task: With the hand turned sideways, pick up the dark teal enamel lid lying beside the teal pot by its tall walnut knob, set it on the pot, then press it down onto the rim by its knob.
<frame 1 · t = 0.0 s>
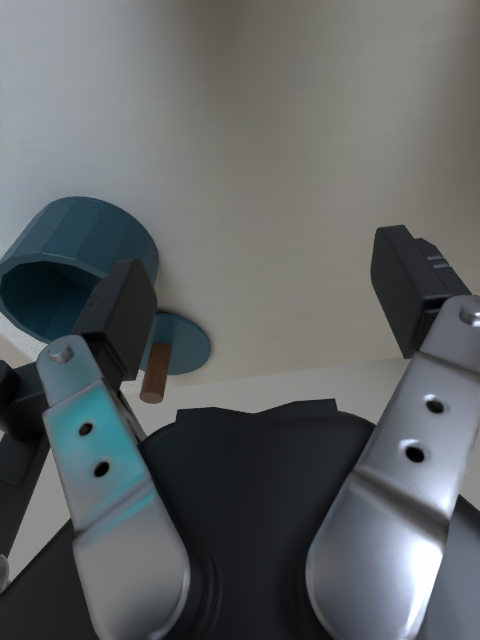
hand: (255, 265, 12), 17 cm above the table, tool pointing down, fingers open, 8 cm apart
pot: (98, 251, 32), on the table
lid: (162, 345, 42), point 1 cm above the table
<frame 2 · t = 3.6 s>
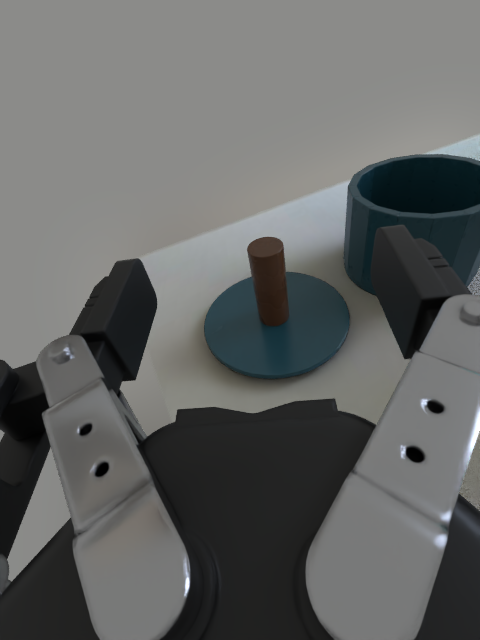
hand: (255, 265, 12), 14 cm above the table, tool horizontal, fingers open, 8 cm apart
pot: (405, 263, 32), on the table
lid: (274, 319, 29), point 1 cm above the table
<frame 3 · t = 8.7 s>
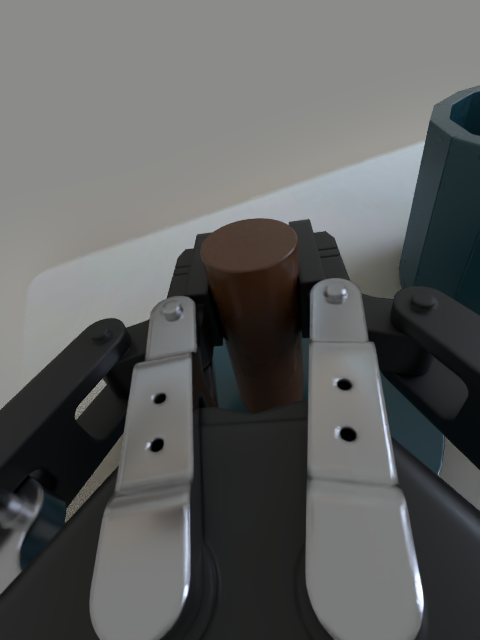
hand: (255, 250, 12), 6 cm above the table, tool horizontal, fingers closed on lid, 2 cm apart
lid: (272, 397, 14), point 1 cm above the table, touching gripper
when the fingers open (13 cm above the table, at t = 15.5 s): lid stays where it is, resting on pot.
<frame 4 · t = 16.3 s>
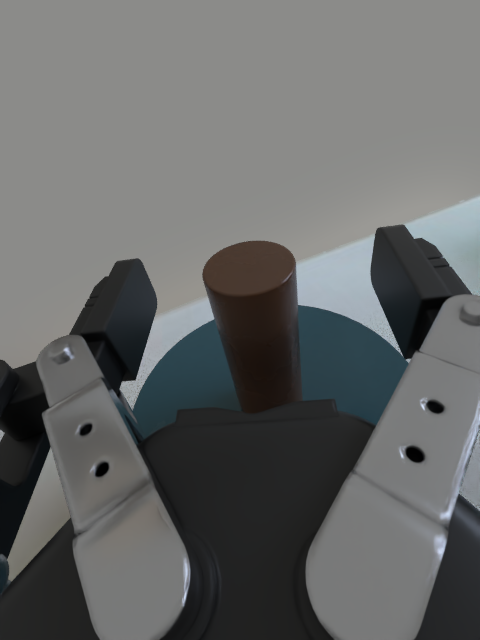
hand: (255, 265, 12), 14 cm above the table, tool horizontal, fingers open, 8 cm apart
lid: (272, 408, 14), point 8 cm above the table, touching pot
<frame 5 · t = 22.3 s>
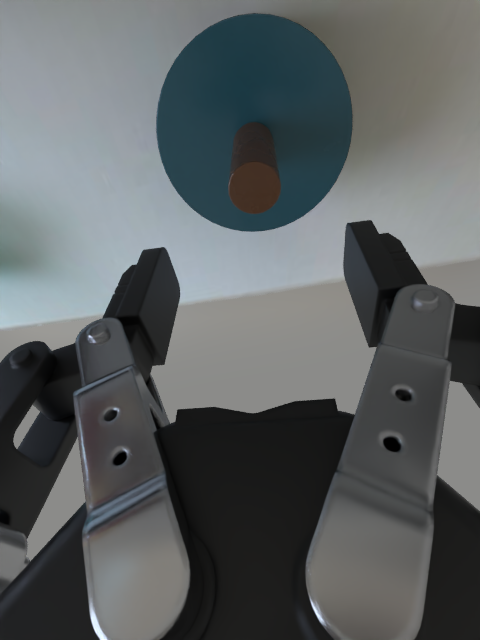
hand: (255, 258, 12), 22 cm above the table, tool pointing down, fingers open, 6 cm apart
lid: (253, 142, 22), point 8 cm above the table, touching pot
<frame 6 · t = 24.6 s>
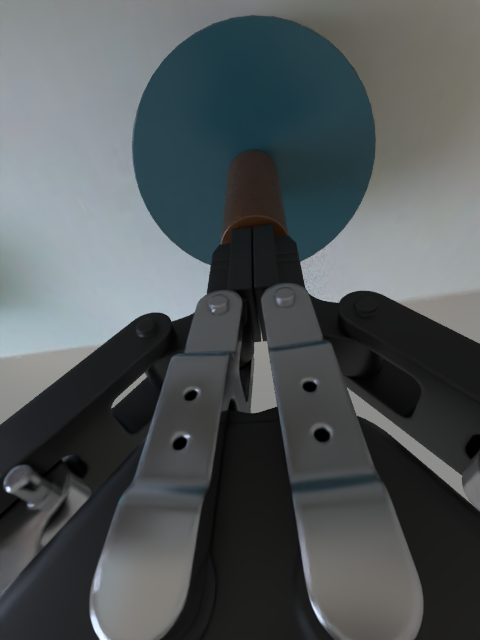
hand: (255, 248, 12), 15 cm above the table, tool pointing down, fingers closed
lid: (252, 172, 18), point 8 cm above the table, touching gripper, pot
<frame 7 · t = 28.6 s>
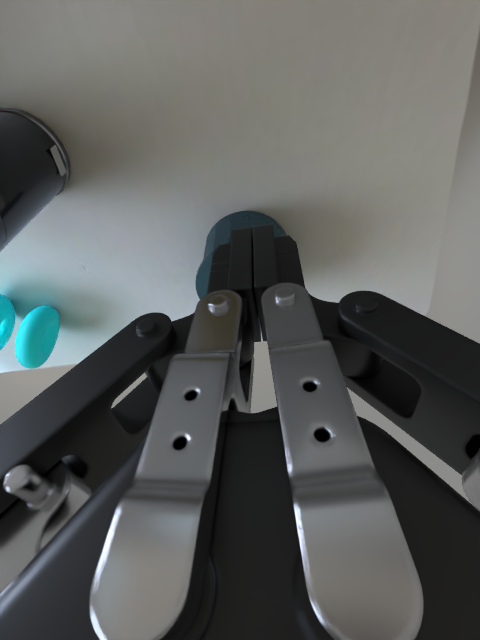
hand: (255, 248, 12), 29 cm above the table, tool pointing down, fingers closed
donuts: (31, 308, 55), on the table
pot: (247, 249, 46), on the table
lid: (247, 285, 40), point 8 cm above the table, touching pot
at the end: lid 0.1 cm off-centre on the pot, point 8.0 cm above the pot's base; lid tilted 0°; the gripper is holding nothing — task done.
